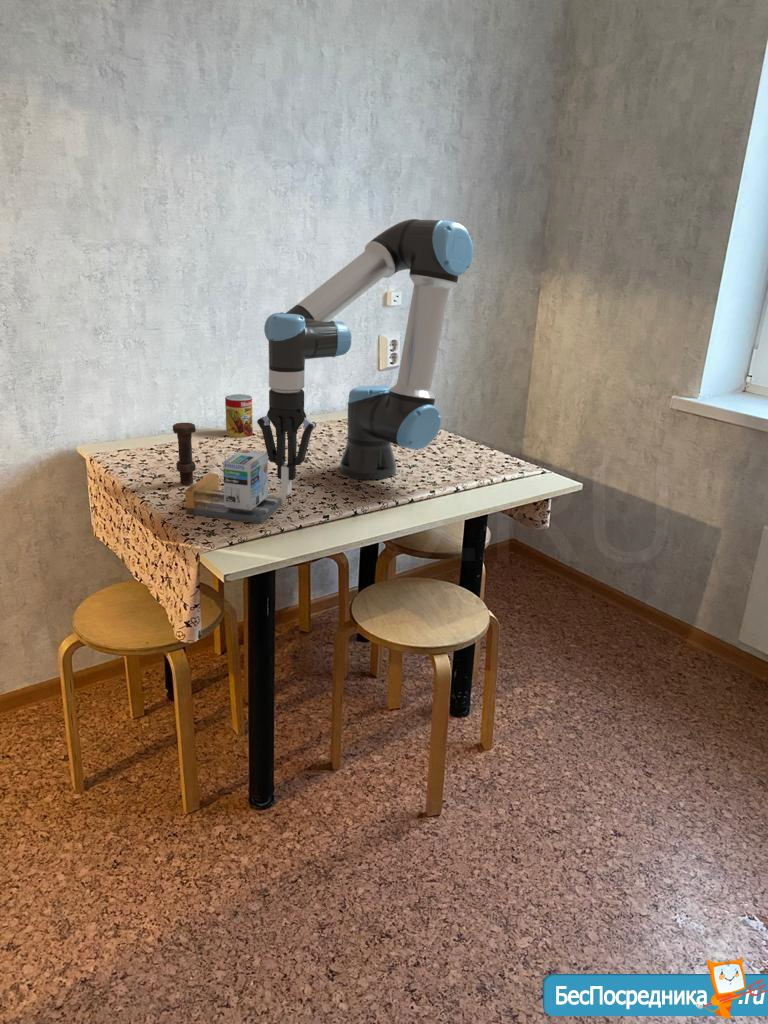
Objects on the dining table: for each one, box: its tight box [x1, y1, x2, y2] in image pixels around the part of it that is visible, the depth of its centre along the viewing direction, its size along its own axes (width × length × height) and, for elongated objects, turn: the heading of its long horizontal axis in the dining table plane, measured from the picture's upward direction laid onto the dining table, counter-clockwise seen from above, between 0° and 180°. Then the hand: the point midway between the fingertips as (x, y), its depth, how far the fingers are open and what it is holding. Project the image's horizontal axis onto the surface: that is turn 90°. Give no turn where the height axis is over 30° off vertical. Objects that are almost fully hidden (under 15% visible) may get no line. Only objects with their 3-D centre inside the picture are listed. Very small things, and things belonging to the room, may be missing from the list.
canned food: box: [224, 393, 254, 439], centre depth 232 cm, size 8×8×12 cm
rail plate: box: [184, 472, 283, 525], centre depth 177 cm, size 18×13×6 cm
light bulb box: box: [222, 448, 269, 510], centre depth 174 cm, size 11×7×11 cm, turn 167°
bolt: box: [172, 422, 197, 486], centre depth 189 cm, size 6×5×15 cm
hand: (286, 492), depth 173 cm, fingers closed
